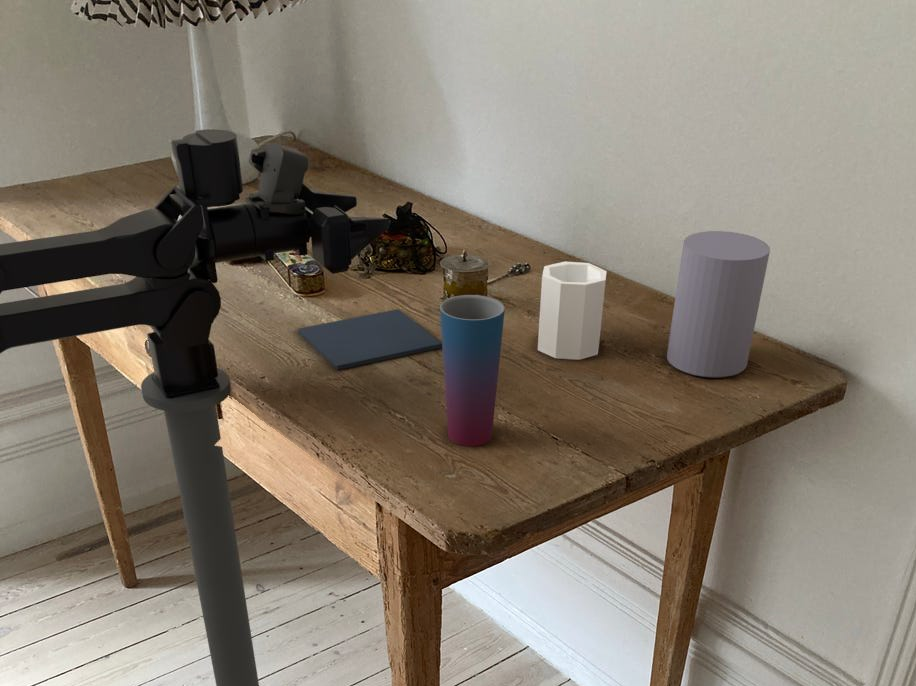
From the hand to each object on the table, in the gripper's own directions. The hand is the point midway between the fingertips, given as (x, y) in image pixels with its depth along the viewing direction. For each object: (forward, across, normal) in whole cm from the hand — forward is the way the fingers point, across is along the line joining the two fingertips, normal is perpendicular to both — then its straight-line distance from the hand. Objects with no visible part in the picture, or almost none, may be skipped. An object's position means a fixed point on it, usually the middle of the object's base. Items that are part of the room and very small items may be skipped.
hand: (372, 211), depth 122 cm
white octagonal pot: (+24, -8, +18) cm, 31 cm away
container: (+37, -22, +18) cm, 46 cm away
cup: (0, -25, +18) cm, 31 cm away
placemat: (+1, +4, +18) cm, 18 cm away
